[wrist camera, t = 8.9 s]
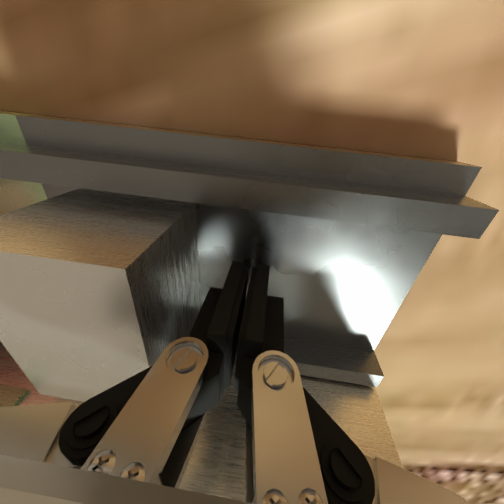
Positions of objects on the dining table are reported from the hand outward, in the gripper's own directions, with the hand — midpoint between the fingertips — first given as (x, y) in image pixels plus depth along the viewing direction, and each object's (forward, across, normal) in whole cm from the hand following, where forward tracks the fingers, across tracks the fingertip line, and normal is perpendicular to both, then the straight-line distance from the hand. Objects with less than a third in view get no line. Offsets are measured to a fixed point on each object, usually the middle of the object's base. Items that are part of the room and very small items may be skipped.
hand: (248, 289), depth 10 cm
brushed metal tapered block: (+1, +6, 0) cm, 6 cm away
